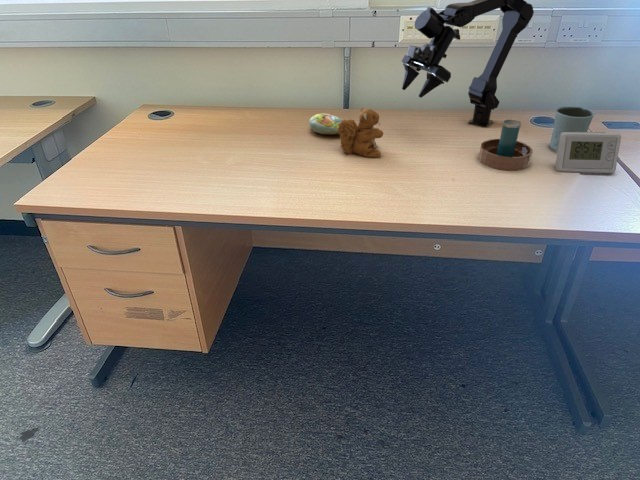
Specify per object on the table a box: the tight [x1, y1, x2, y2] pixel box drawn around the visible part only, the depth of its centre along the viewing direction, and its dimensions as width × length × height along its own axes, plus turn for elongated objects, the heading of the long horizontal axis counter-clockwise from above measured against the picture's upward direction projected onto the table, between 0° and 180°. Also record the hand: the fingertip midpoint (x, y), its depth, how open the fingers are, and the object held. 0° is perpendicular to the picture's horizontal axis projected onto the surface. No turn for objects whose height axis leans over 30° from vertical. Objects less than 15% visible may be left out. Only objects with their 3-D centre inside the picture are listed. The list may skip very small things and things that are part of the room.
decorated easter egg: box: [308, 113, 343, 136], centre depth 157 cm, size 11×8×15 cm
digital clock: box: [554, 131, 622, 175], centre depth 127 cm, size 16×9×11 cm, turn 72°
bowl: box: [478, 138, 534, 172], centre depth 134 cm, size 14×14×4 cm
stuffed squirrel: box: [337, 108, 384, 158], centre depth 140 cm, size 10×14×13 cm
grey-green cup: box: [549, 105, 595, 152], centre depth 139 cm, size 10×10×12 cm
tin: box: [497, 119, 522, 157], centre depth 132 cm, size 5×5×12 cm
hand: (411, 93), depth 144 cm, fingers open, 9 cm apart
